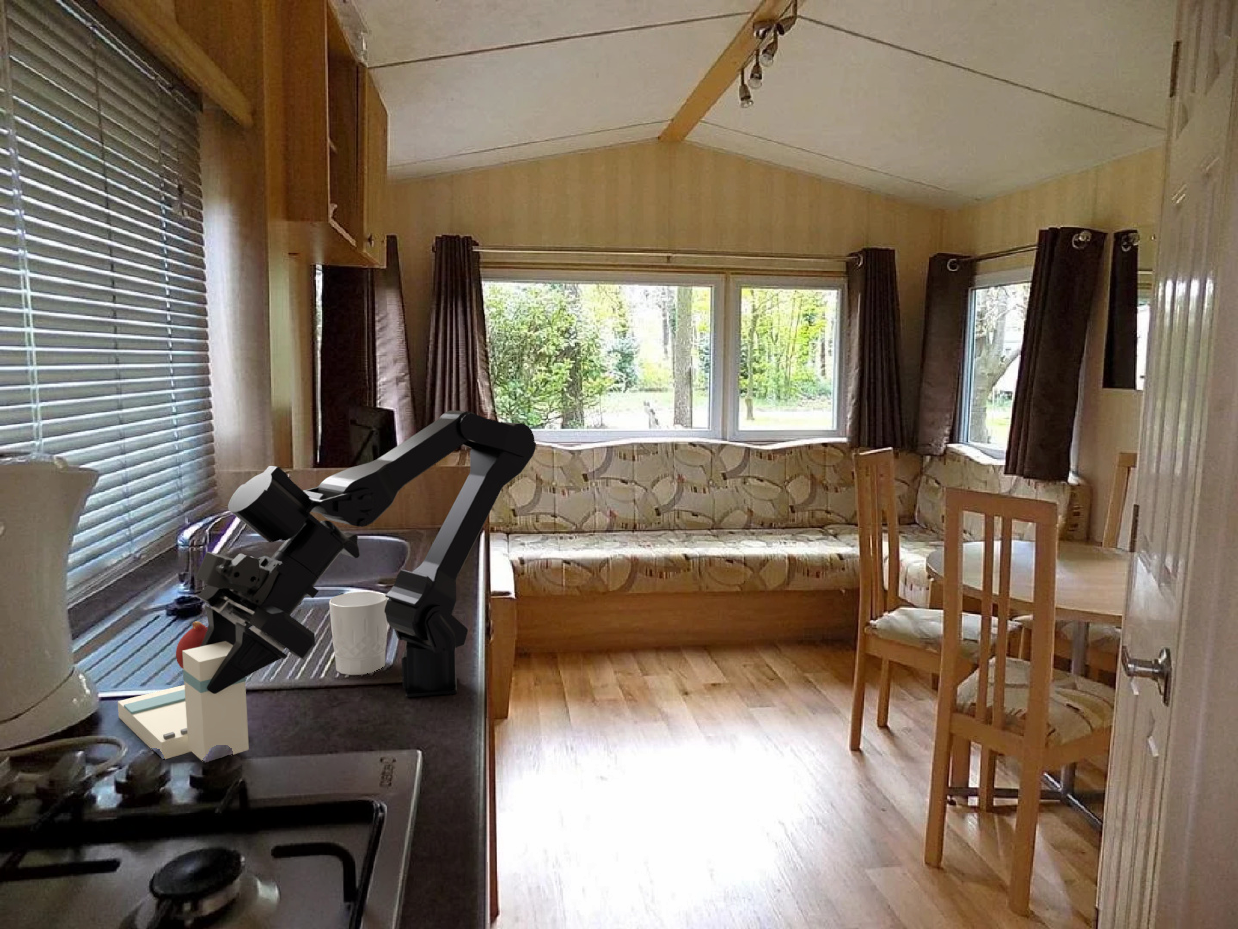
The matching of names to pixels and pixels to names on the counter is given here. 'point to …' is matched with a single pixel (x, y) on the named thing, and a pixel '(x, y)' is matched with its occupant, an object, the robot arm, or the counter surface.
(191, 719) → the cream box
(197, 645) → the onion
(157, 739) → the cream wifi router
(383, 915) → the counter surface
